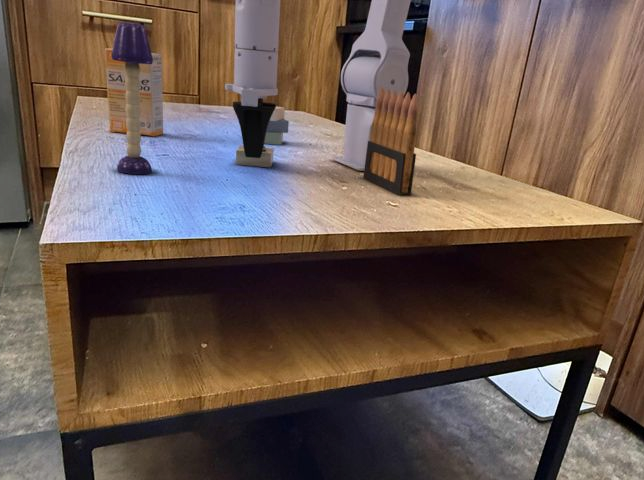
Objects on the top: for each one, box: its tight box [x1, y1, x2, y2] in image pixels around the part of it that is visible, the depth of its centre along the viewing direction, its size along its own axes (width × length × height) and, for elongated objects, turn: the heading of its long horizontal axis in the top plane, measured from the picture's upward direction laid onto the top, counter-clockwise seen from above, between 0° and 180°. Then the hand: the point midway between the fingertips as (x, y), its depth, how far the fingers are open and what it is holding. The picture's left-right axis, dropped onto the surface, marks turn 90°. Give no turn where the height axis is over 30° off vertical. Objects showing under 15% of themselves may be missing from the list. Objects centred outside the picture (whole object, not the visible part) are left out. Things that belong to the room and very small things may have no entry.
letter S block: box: [235, 144, 274, 168], centre depth 88 cm, size 5×5×2 cm
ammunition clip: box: [362, 87, 419, 196], centre depth 78 cm, size 11×2×12 cm, turn 22°
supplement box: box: [104, 48, 164, 137], centre depth 102 cm, size 8×5×13 cm, turn 80°
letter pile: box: [264, 106, 290, 146], centre depth 108 cm, size 7×7×6 cm
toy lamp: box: [111, 21, 153, 175], centre depth 72 cm, size 5×5×17 cm
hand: (253, 156), depth 85 cm, fingers closed
